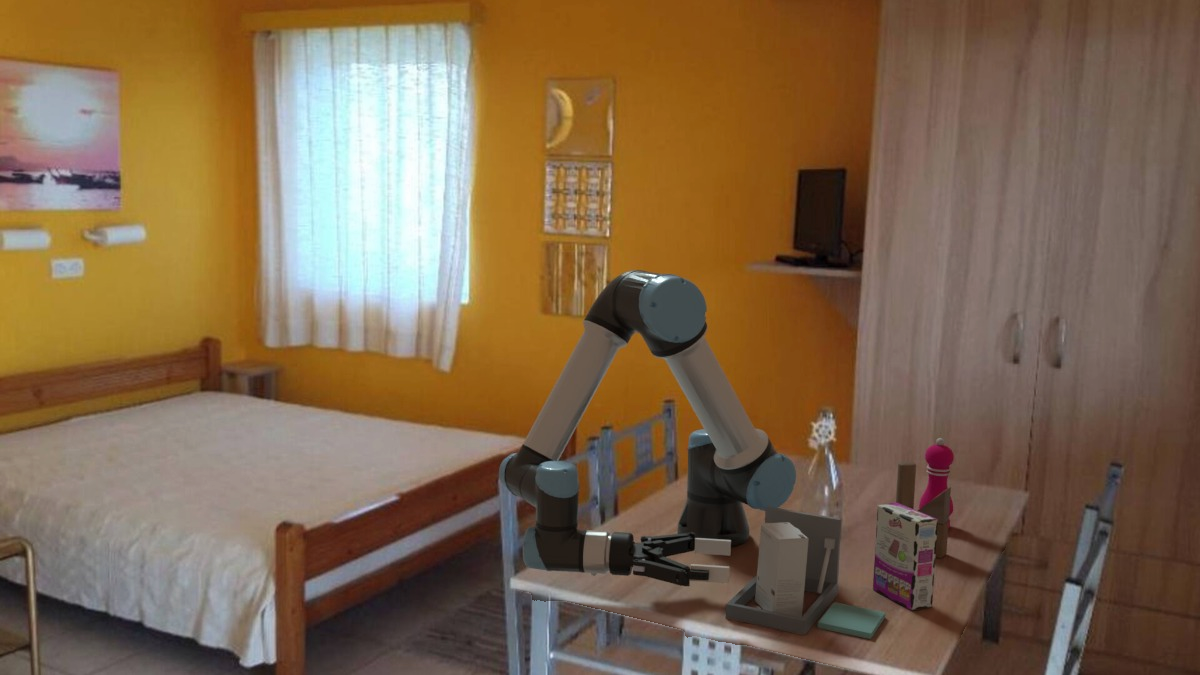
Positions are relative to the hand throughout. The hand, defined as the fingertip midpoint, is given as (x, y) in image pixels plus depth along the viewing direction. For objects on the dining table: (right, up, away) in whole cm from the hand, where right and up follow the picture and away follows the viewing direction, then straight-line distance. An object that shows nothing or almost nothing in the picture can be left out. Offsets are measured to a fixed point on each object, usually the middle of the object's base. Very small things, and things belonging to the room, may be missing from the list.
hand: (730, 560), depth 185 cm
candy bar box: (+32, -8, +6) cm, 34 cm away
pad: (+20, -10, -5) cm, 23 cm away
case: (+10, -8, +2) cm, 13 cm away
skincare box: (+9, -9, 0) cm, 12 cm away
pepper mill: (+51, -3, +47) cm, 70 cm away
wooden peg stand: (+43, -5, +32) cm, 53 cm away
